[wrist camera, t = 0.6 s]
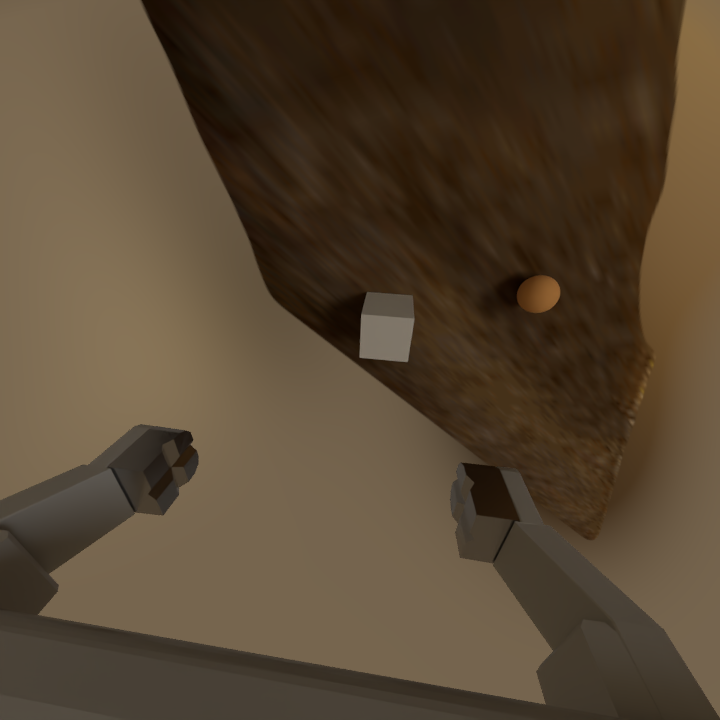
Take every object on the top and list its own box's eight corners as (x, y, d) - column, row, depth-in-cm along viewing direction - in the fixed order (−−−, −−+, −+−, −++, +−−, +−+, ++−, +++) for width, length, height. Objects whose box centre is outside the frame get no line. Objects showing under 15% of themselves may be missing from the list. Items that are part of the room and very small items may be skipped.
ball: (519, 268, 40) (532, 281, 36) (556, 271, 39) (574, 284, 35) (507, 302, 43) (518, 317, 39) (542, 305, 42) (557, 320, 38)
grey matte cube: (367, 292, 44) (361, 314, 38) (412, 295, 44) (414, 318, 37) (365, 331, 48) (359, 357, 42) (406, 335, 48) (407, 362, 42)
